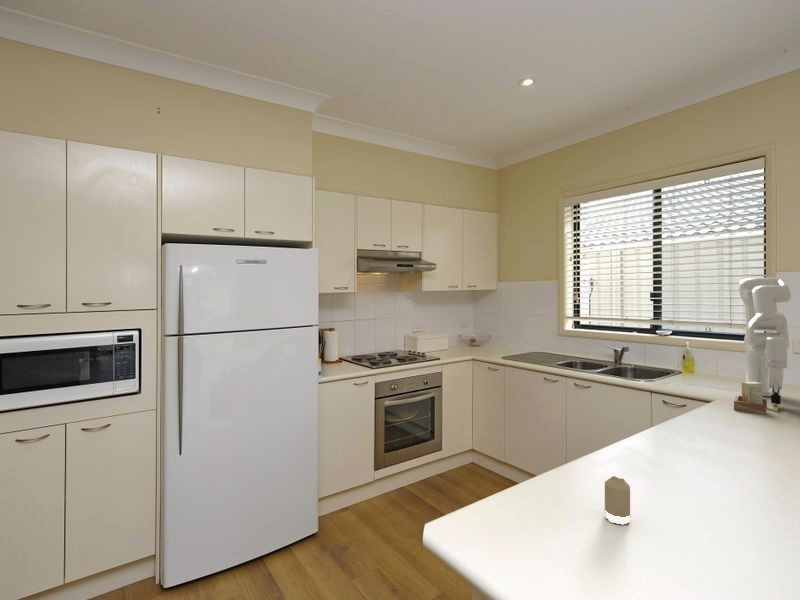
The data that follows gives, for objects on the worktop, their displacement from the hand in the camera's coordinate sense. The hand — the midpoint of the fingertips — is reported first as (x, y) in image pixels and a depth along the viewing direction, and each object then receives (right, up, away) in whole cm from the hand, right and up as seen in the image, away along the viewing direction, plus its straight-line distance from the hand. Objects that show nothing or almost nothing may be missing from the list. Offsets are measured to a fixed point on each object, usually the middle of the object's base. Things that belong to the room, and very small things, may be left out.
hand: (775, 403), depth 195 cm
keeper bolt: (-4, -1, -4) cm, 6 cm away
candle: (-121, -6, -92) cm, 152 cm away
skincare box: (-14, -2, -3) cm, 14 cm away
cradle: (-14, -2, -3) cm, 14 cm away
